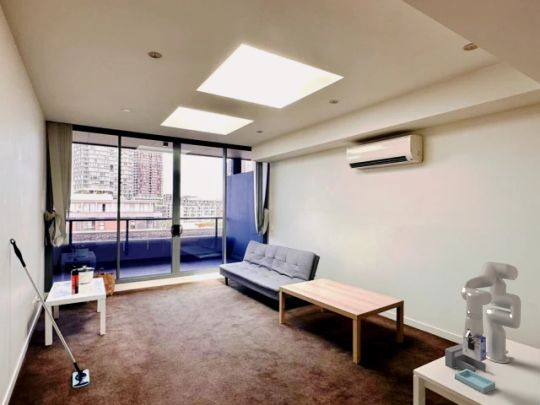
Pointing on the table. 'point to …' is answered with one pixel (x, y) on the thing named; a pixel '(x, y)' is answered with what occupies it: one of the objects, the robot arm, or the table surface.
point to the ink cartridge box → (475, 348)
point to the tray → (475, 381)
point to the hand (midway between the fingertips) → (474, 347)
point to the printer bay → (462, 359)
